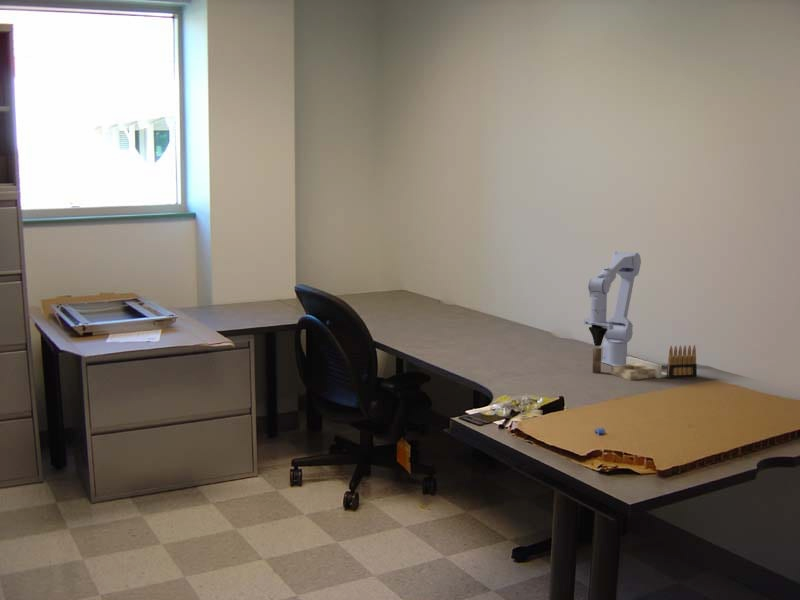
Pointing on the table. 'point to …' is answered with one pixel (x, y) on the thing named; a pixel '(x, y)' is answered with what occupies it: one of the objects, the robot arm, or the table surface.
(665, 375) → the white rectangular slab
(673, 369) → the ammunition clip
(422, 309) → the table surface
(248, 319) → the table surface
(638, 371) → the block
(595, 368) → the dowel
